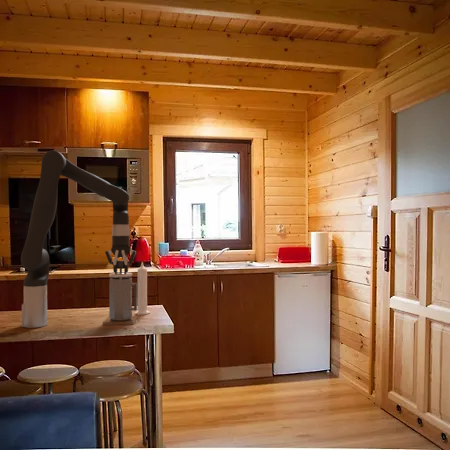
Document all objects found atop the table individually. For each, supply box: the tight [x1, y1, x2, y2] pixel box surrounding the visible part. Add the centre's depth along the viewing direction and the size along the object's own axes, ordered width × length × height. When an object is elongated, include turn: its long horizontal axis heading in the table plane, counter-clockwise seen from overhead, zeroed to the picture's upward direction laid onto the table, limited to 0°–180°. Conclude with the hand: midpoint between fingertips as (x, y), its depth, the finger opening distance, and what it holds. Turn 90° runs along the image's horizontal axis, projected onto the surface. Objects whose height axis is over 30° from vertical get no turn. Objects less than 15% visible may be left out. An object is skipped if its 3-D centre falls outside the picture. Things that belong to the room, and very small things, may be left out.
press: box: [102, 276, 139, 326], centre depth 194 cm, size 14×13×19 cm
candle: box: [134, 261, 151, 316], centre depth 212 cm, size 7×7×25 cm
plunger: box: [108, 260, 133, 279], centre depth 194 cm, size 10×10×24 cm
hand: (120, 273), depth 194 cm, fingers closed on plunger, 3 cm apart
